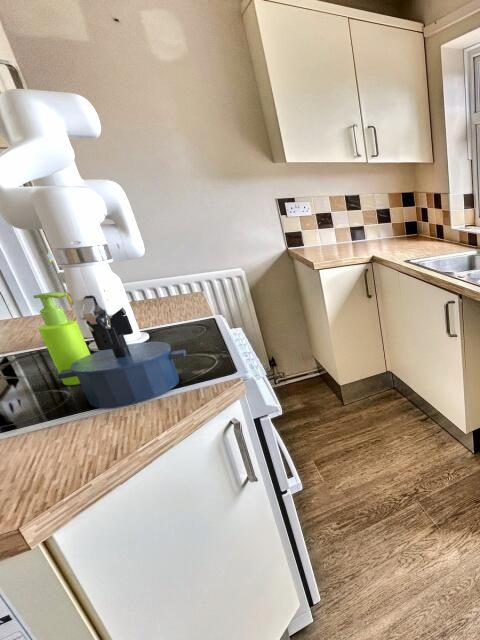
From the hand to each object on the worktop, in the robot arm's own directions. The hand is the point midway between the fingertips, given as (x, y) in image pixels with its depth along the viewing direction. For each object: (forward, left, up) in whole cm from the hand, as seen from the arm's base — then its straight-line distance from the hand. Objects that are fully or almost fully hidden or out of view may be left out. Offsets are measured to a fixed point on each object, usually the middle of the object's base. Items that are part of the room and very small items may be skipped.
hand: (117, 341), depth 85 cm
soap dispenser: (-14, -12, -11) cm, 22 cm away
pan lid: (0, 0, -4) cm, 4 cm away
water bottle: (-55, -19, -11) cm, 60 cm away
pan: (0, 0, -11) cm, 11 cm away
